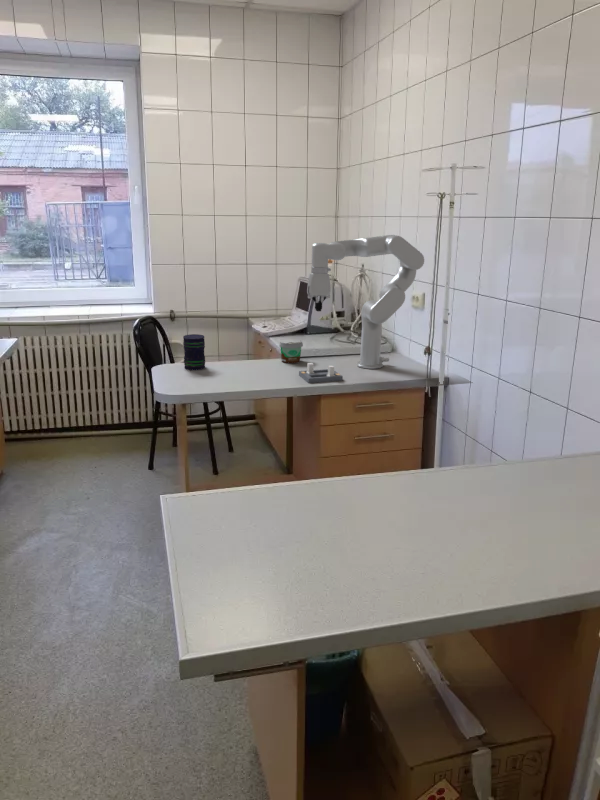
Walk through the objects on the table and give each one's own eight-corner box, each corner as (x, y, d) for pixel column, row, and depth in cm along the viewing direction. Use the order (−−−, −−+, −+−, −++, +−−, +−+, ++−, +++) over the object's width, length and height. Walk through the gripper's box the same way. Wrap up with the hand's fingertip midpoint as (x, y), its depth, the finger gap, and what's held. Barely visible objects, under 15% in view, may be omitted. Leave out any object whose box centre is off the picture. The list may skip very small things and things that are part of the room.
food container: (284, 365, 299) (284, 344, 296) (278, 362, 304) (279, 342, 301) (306, 362, 305) (307, 342, 302) (301, 359, 310) (301, 340, 307)
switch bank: (331, 373, 287) (331, 368, 286) (342, 380, 275) (342, 375, 274) (298, 375, 282) (299, 370, 281) (308, 383, 270) (308, 378, 269)
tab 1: (312, 373, 282) (312, 362, 280) (314, 374, 279) (314, 364, 278) (306, 373, 281) (306, 363, 279) (308, 375, 278) (308, 364, 277)
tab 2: (332, 375, 278) (333, 365, 276) (335, 377, 275) (335, 366, 274) (326, 376, 277) (326, 365, 276) (328, 378, 274) (329, 367, 273)
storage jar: (202, 364, 297) (201, 333, 293) (208, 369, 289) (207, 337, 284) (181, 366, 293) (180, 335, 289) (187, 371, 285) (186, 339, 280)
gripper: (331, 269, 288) (330, 309, 294) (301, 270, 283) (300, 310, 289) (337, 271, 281) (336, 311, 287) (306, 272, 277) (306, 312, 282)
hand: (318, 310), depth 288 cm, fingers closed
